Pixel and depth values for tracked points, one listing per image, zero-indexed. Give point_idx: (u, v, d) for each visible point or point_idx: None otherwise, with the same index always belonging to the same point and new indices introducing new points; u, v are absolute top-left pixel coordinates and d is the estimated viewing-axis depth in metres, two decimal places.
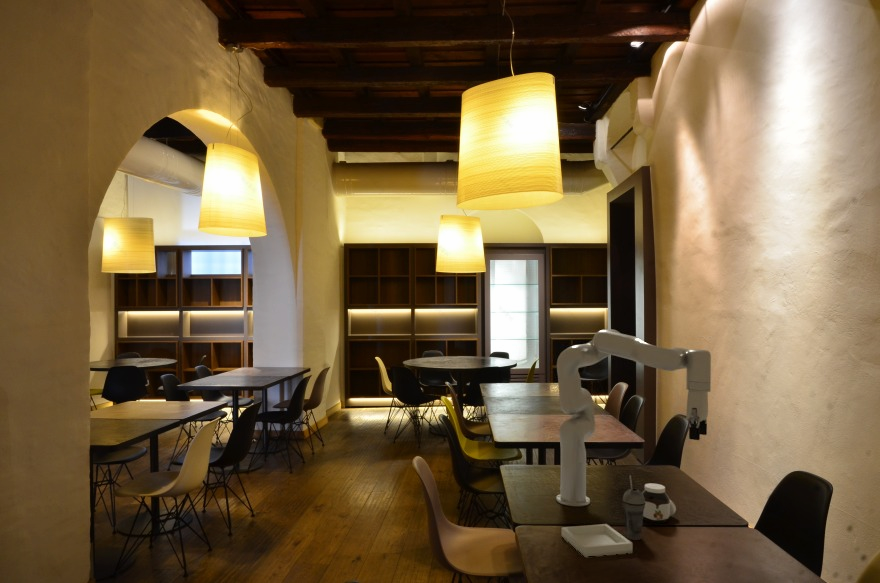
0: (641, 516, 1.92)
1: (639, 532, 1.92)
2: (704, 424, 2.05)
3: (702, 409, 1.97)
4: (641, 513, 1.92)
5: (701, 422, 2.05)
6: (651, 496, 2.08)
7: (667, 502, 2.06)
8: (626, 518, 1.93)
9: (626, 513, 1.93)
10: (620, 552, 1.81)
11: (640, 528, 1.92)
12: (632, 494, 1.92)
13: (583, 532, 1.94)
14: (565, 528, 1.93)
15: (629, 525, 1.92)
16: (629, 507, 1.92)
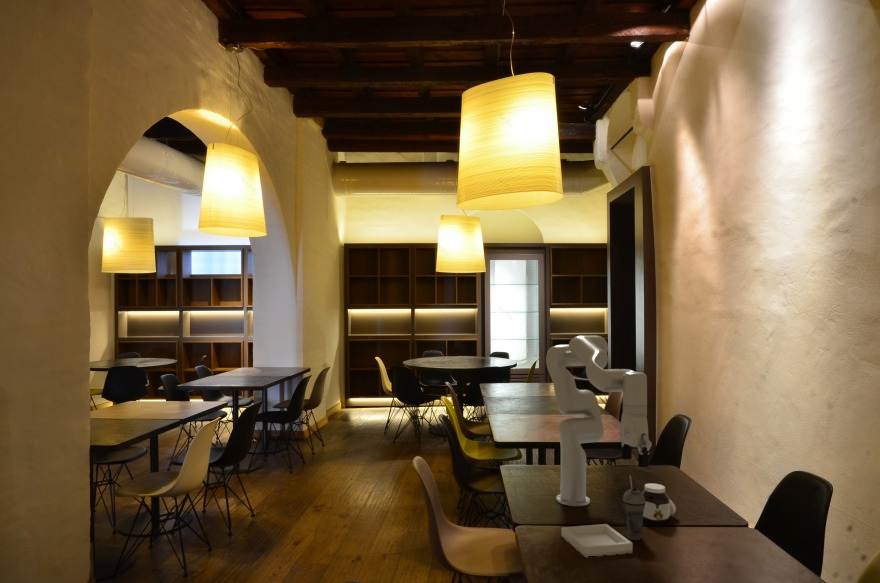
0: (641, 516, 1.92)
1: (639, 532, 1.92)
2: (630, 448, 1.99)
3: None
4: (641, 513, 1.92)
5: (627, 446, 1.99)
6: (651, 496, 2.08)
7: (667, 502, 2.06)
8: (626, 518, 1.93)
9: (626, 513, 1.93)
10: (620, 552, 1.81)
11: (640, 528, 1.92)
12: (632, 494, 1.92)
13: (583, 532, 1.94)
14: (565, 528, 1.93)
15: (629, 525, 1.92)
16: (629, 507, 1.92)
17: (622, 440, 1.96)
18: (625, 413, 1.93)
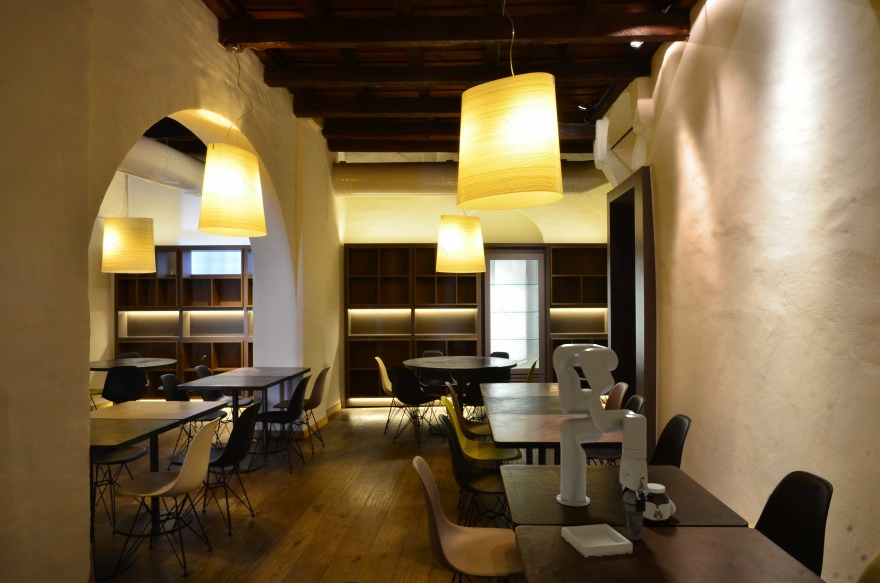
0: (641, 516, 1.92)
1: (639, 532, 1.92)
2: None
3: None
4: (641, 513, 1.92)
5: None
6: (651, 496, 2.08)
7: (667, 502, 2.06)
8: (626, 518, 1.93)
9: (626, 513, 1.93)
10: (620, 552, 1.81)
11: (640, 528, 1.92)
12: (632, 494, 1.92)
13: (583, 532, 1.94)
14: (565, 528, 1.93)
15: (629, 525, 1.92)
16: (629, 507, 1.92)
17: (621, 482, 1.96)
18: (624, 456, 1.93)
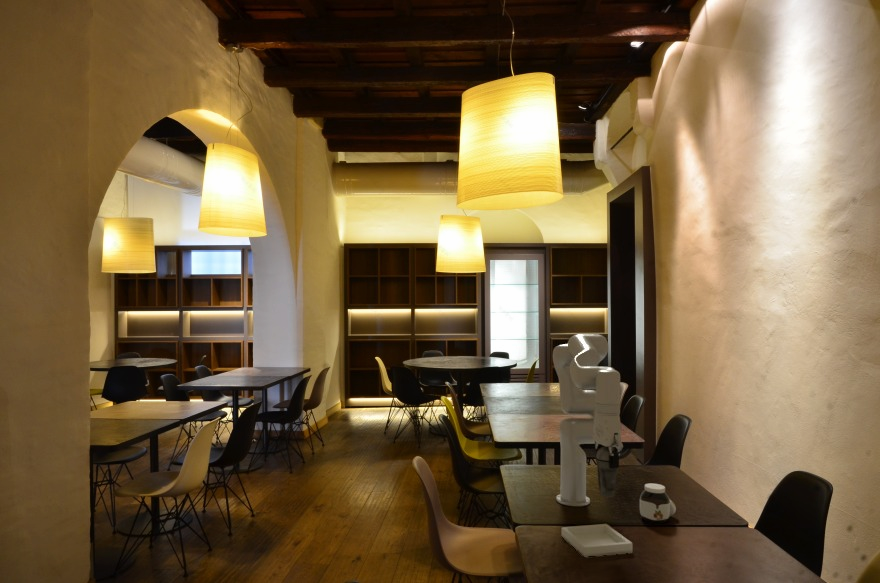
0: (615, 473, 1.87)
1: (613, 489, 1.88)
2: None
3: None
4: (615, 470, 1.87)
5: None
6: (651, 496, 2.08)
7: (667, 502, 2.06)
8: (599, 475, 1.89)
9: (599, 470, 1.88)
10: (620, 552, 1.81)
11: (614, 485, 1.88)
12: (605, 451, 1.88)
13: (583, 532, 1.94)
14: (565, 528, 1.93)
15: (602, 483, 1.88)
16: (602, 464, 1.87)
17: (594, 439, 1.92)
18: (598, 412, 1.88)
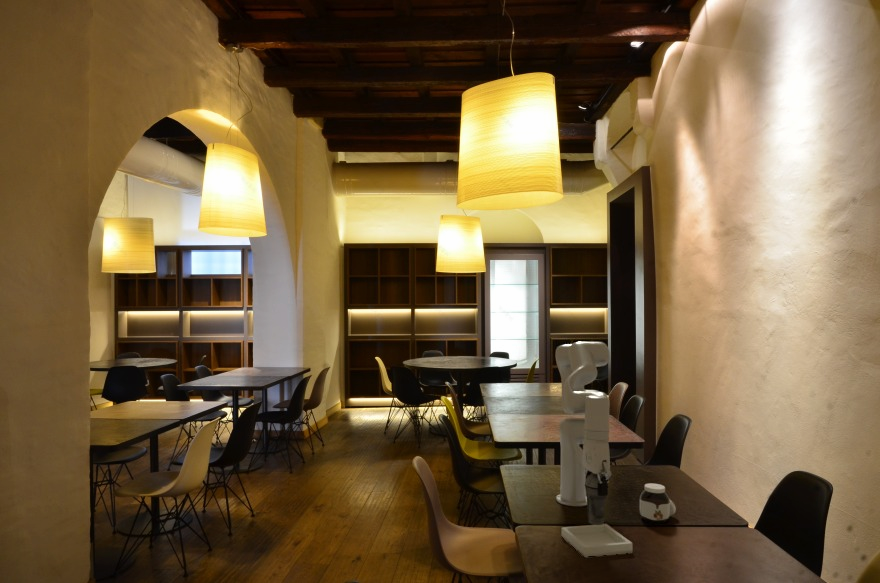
0: (603, 500, 1.86)
1: (601, 517, 1.86)
2: None
3: None
4: (603, 497, 1.85)
5: None
6: (651, 496, 2.08)
7: (667, 502, 2.06)
8: (588, 503, 1.87)
9: (588, 497, 1.87)
10: (620, 552, 1.81)
11: (602, 513, 1.86)
12: (594, 478, 1.86)
13: (583, 532, 1.94)
14: (565, 528, 1.93)
15: (591, 510, 1.86)
16: (591, 491, 1.85)
17: (584, 465, 1.90)
18: (586, 438, 1.87)
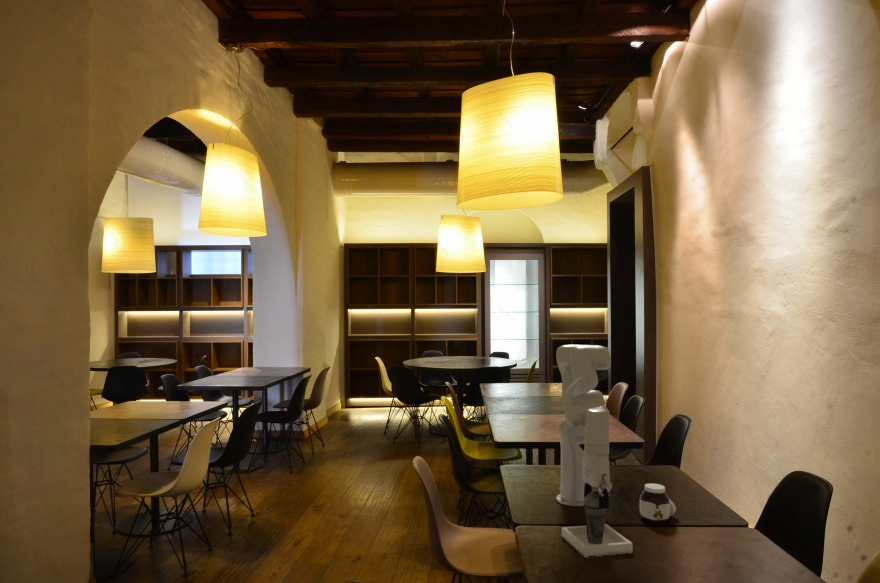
0: (602, 520, 1.86)
1: (600, 536, 1.86)
2: (592, 486, 1.93)
3: None
4: (602, 517, 1.86)
5: (589, 485, 1.92)
6: (651, 496, 2.08)
7: (667, 502, 2.06)
8: (587, 522, 1.87)
9: (587, 517, 1.87)
10: (620, 552, 1.81)
11: (601, 532, 1.86)
12: (592, 497, 1.86)
13: (583, 532, 1.94)
14: (565, 528, 1.93)
15: (589, 529, 1.86)
16: (590, 510, 1.86)
17: (584, 479, 1.90)
18: (586, 452, 1.87)
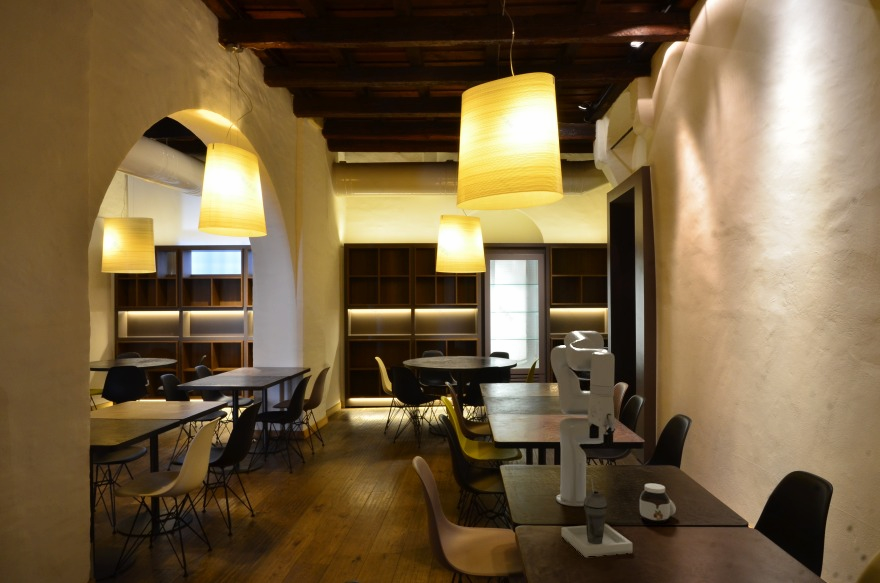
0: (602, 520, 1.86)
1: (600, 536, 1.86)
2: (597, 427, 1.99)
3: None
4: (602, 517, 1.86)
5: (594, 426, 1.99)
6: (651, 496, 2.08)
7: (667, 502, 2.06)
8: (587, 522, 1.87)
9: (587, 516, 1.87)
10: (620, 552, 1.81)
11: (601, 532, 1.86)
12: (593, 497, 1.86)
13: (583, 532, 1.94)
14: (565, 528, 1.93)
15: (590, 529, 1.86)
16: (590, 510, 1.86)
17: (589, 419, 1.97)
18: (592, 393, 1.93)
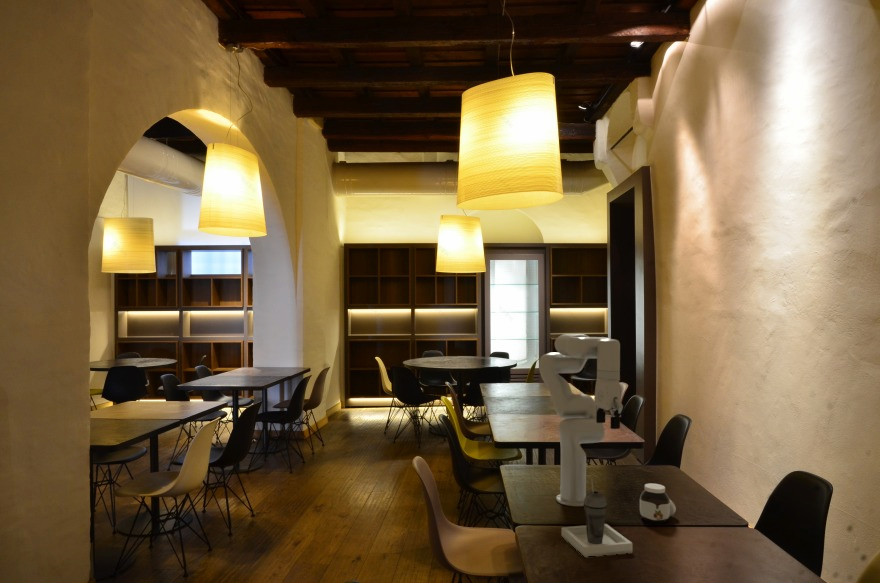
0: (602, 520, 1.86)
1: (600, 536, 1.86)
2: (603, 412, 2.08)
3: None
4: (602, 517, 1.86)
5: (601, 410, 2.08)
6: (651, 496, 2.08)
7: (667, 502, 2.06)
8: (587, 522, 1.87)
9: (587, 517, 1.87)
10: (620, 552, 1.81)
11: (601, 532, 1.86)
12: (592, 497, 1.86)
13: (583, 532, 1.94)
14: (565, 528, 1.93)
15: (589, 529, 1.86)
16: (590, 510, 1.86)
17: (596, 404, 2.06)
18: (599, 378, 2.02)
